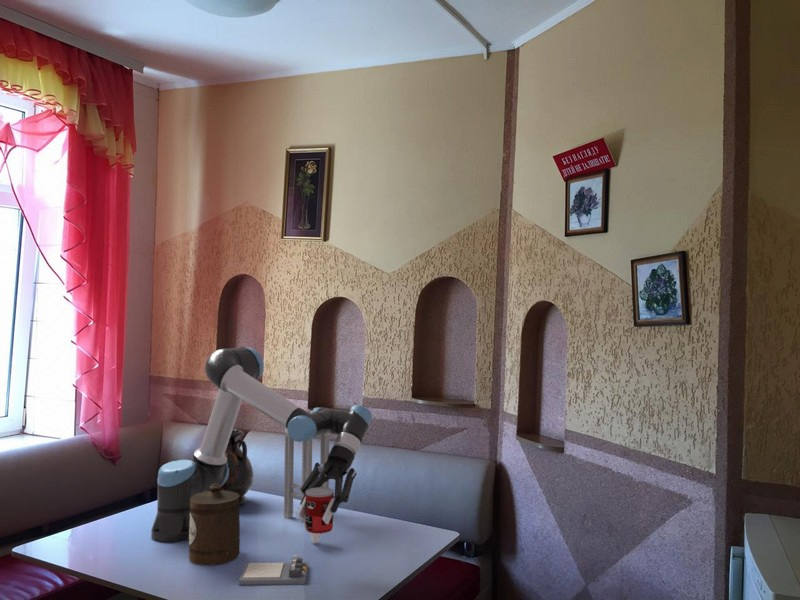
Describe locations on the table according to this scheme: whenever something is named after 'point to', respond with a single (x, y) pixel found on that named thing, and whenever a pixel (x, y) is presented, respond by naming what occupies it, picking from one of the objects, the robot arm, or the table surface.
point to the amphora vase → (238, 467)
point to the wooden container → (214, 527)
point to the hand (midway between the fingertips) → (312, 519)
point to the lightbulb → (315, 537)
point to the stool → (305, 469)
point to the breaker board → (275, 573)
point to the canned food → (318, 509)
